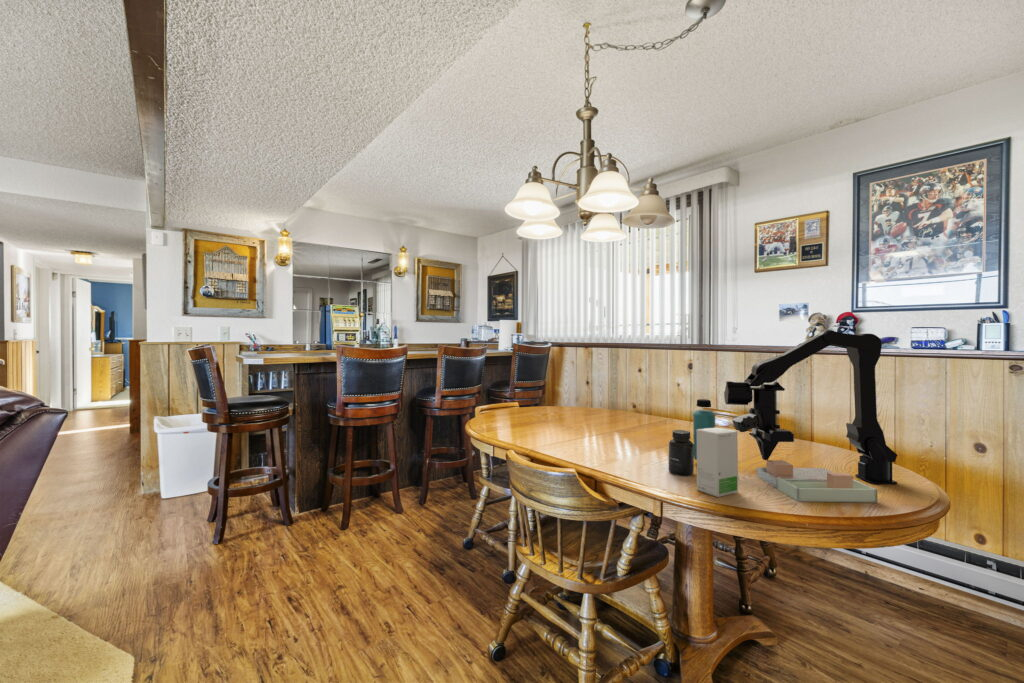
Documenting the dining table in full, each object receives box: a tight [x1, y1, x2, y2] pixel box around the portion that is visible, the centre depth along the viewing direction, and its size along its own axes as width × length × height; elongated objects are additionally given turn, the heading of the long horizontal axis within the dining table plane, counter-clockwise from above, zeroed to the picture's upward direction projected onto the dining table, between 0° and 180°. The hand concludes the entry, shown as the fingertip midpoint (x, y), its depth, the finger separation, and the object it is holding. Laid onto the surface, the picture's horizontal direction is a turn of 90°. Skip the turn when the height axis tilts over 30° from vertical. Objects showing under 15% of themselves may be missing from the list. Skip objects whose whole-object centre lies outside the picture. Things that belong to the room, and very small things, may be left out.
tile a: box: [827, 471, 854, 489], centre depth 107 cm, size 4×4×2 cm
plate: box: [756, 466, 835, 489], centre depth 116 cm, size 18×10×2 cm, turn 87°
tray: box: [776, 477, 878, 504], centre depth 106 cm, size 18×9×3 cm, turn 87°
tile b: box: [766, 459, 794, 474], centre depth 117 cm, size 4×4×2 cm
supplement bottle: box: [668, 429, 695, 477], centre depth 125 cm, size 7×7×12 cm
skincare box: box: [696, 427, 739, 498], centre depth 110 cm, size 8×7×16 cm
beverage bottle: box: [692, 398, 716, 461], centre depth 133 cm, size 6×7×20 cm
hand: (765, 459), depth 124 cm, fingers closed
